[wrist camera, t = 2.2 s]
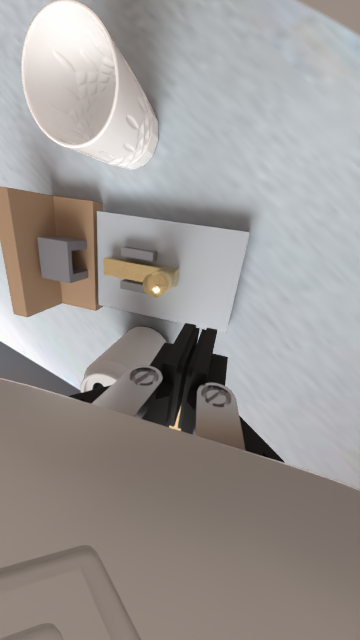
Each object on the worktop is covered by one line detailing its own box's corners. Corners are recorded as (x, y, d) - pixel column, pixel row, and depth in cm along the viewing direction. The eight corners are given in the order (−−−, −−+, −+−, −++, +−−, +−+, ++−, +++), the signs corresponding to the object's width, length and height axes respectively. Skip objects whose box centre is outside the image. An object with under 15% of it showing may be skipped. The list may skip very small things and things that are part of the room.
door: (251, 222, 25) (255, 219, 18) (225, 333, 31) (220, 365, 23) (51, 196, 30) (-10, 185, 23) (60, 296, 35) (13, 313, 28)
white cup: (132, 66, 23) (60, -42, 14) (179, 137, 24) (141, 80, 15) (86, 131, 26) (3, 79, 17) (129, 191, 27) (73, 172, 18)
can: (123, 321, 34) (68, 363, 23) (171, 327, 32) (135, 375, 22) (127, 363, 37) (79, 419, 26) (170, 370, 35) (139, 433, 24)
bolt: (181, 267, 26) (166, 276, 21) (178, 287, 27) (164, 300, 22) (110, 255, 28) (81, 260, 23) (110, 274, 29) (82, 283, 24)
